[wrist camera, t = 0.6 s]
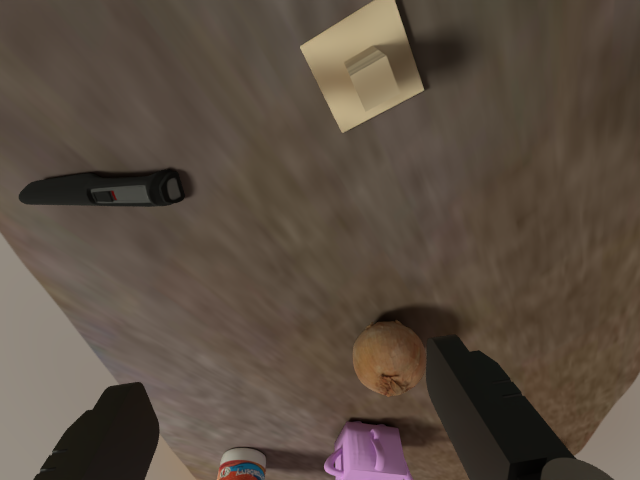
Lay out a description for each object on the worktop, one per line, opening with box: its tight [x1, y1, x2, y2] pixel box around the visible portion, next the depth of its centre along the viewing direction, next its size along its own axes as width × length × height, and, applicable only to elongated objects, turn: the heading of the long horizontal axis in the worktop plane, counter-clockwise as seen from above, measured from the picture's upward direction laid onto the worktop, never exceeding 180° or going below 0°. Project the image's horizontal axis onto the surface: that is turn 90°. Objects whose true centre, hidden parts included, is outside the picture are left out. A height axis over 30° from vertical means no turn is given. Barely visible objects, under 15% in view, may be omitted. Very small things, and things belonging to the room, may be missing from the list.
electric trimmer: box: [19, 169, 185, 207], centre depth 34 cm, size 4×16×3 cm, turn 92°
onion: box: [353, 320, 426, 397], centre depth 44 cm, size 10×9×10 cm
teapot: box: [324, 421, 413, 480], centre depth 61 cm, size 18×14×10 cm
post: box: [300, 0, 424, 133], centre depth 26 cm, size 8×8×8 cm
